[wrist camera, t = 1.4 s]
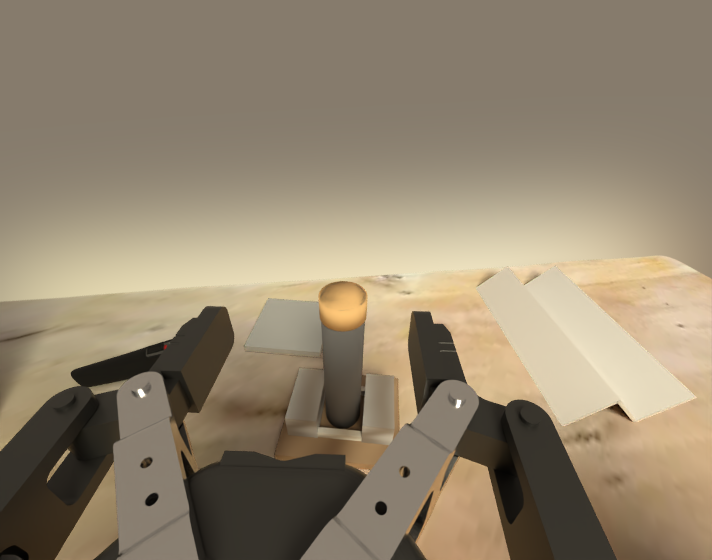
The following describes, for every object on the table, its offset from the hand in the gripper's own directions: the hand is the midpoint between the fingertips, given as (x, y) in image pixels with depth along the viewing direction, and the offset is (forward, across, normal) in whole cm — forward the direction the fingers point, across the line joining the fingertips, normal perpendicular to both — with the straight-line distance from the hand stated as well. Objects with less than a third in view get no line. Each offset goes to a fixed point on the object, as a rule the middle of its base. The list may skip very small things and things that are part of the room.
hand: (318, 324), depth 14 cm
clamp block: (+10, 0, +22) cm, 24 cm away
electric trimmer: (+16, +24, +22) cm, 36 cm away
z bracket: (+24, -29, +23) cm, 44 cm away
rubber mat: (+24, +8, +21) cm, 33 cm away
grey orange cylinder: (+10, 0, +21) cm, 23 cm away
